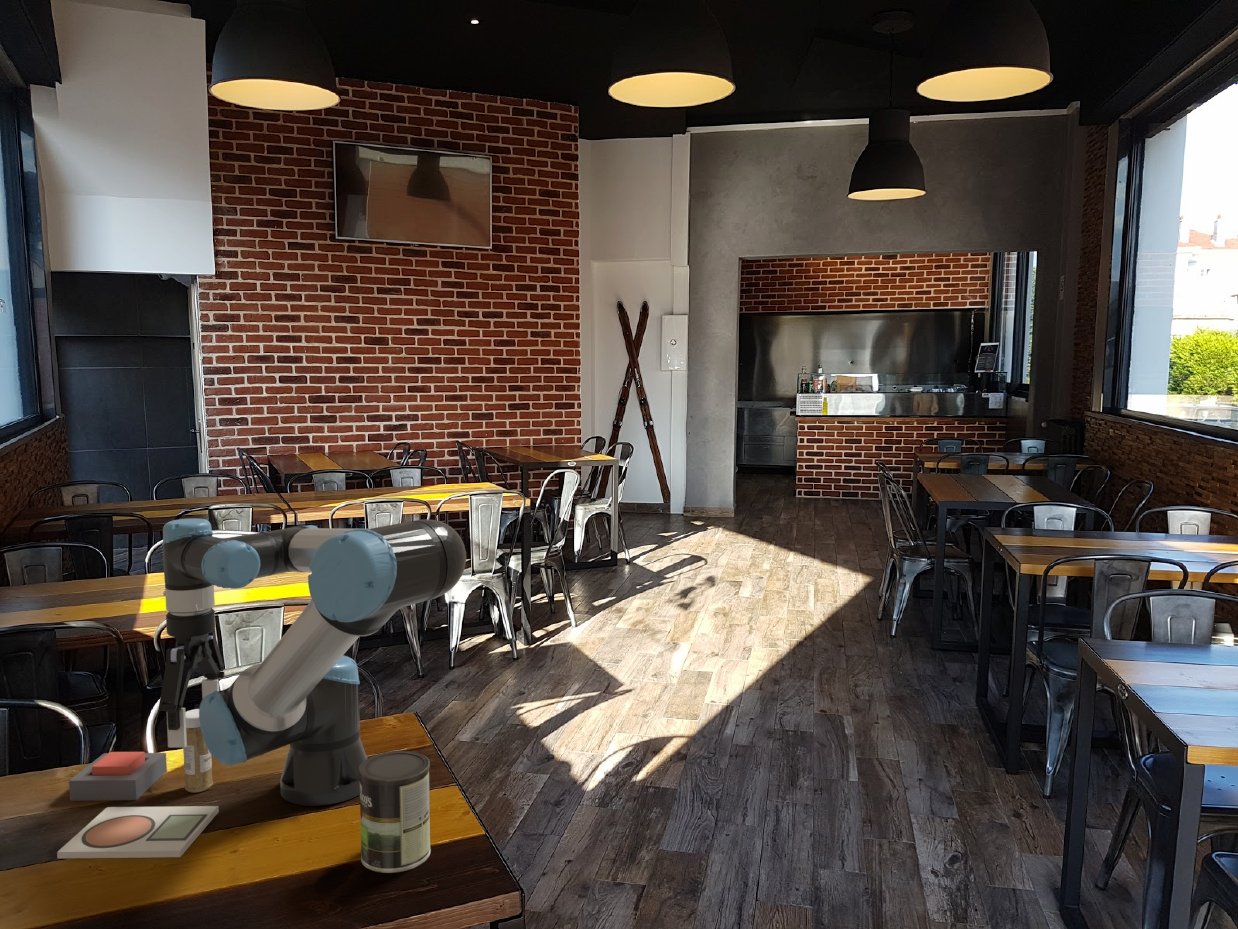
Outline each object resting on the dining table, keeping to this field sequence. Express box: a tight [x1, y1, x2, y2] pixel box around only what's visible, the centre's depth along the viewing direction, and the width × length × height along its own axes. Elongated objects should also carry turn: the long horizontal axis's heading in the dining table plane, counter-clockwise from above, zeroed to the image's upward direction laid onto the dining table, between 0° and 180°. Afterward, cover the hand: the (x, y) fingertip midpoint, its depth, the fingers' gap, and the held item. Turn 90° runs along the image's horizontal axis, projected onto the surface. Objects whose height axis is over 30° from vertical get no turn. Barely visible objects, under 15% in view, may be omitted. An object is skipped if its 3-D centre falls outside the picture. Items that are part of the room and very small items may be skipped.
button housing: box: [68, 752, 168, 802], centre depth 160 cm, size 11×11×4 cm
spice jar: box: [182, 708, 214, 793], centre depth 159 cm, size 5×5×14 cm
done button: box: [92, 751, 146, 775], centre depth 160 cm, size 6×6×3 cm
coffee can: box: [358, 750, 432, 874], centre depth 137 cm, size 10×10×14 cm
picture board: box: [56, 805, 220, 859], centre depth 143 cm, size 18×14×1 cm
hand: (195, 730), depth 159 cm, fingers open, 13 cm apart
